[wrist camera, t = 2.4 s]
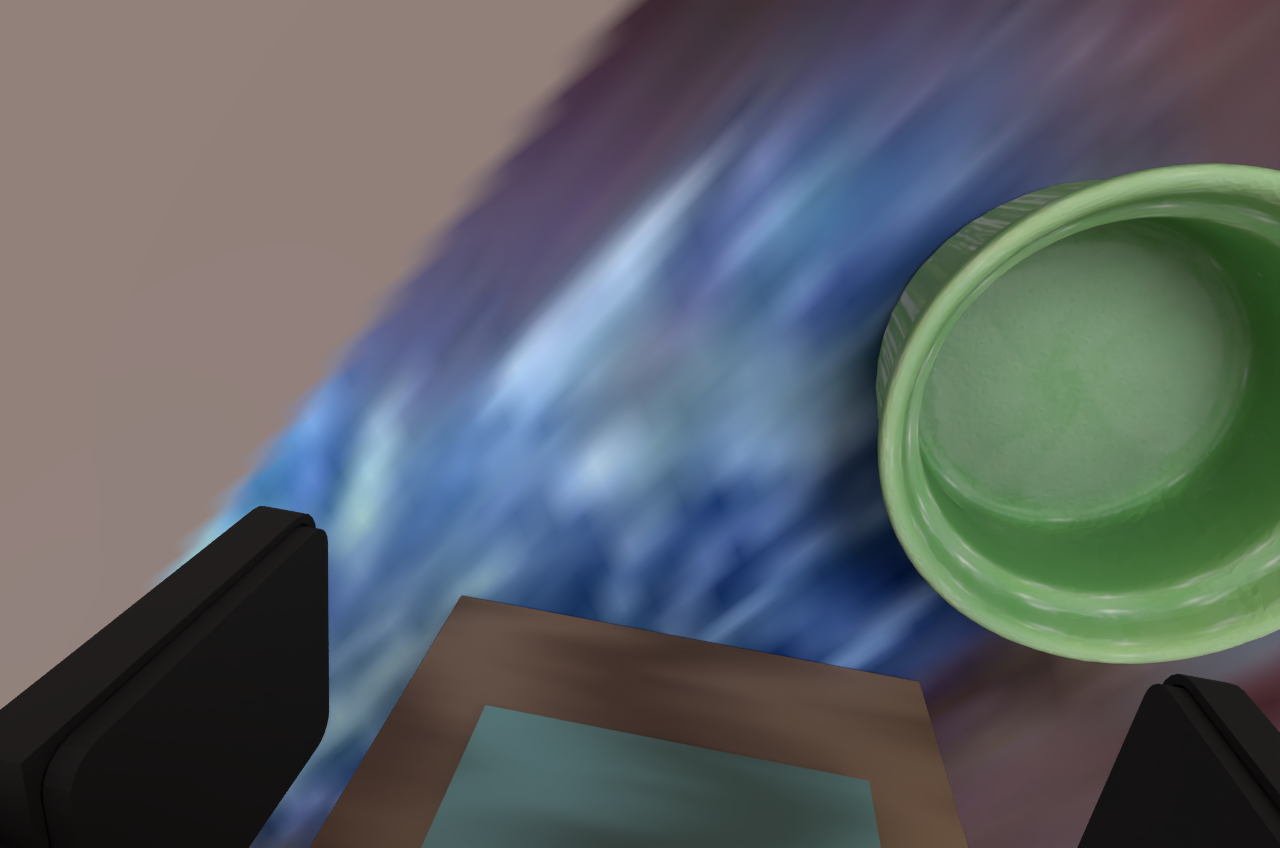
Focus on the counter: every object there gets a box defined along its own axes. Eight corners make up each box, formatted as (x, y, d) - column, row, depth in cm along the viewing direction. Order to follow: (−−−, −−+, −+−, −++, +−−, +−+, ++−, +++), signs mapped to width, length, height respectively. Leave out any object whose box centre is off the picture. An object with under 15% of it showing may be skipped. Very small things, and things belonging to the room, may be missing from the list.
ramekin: (1361, 431, 18) (1546, 527, 14) (967, 612, 20) (1021, 737, 16) (1187, 55, 16) (1341, 33, 12) (775, 309, 18) (783, 365, 14)
